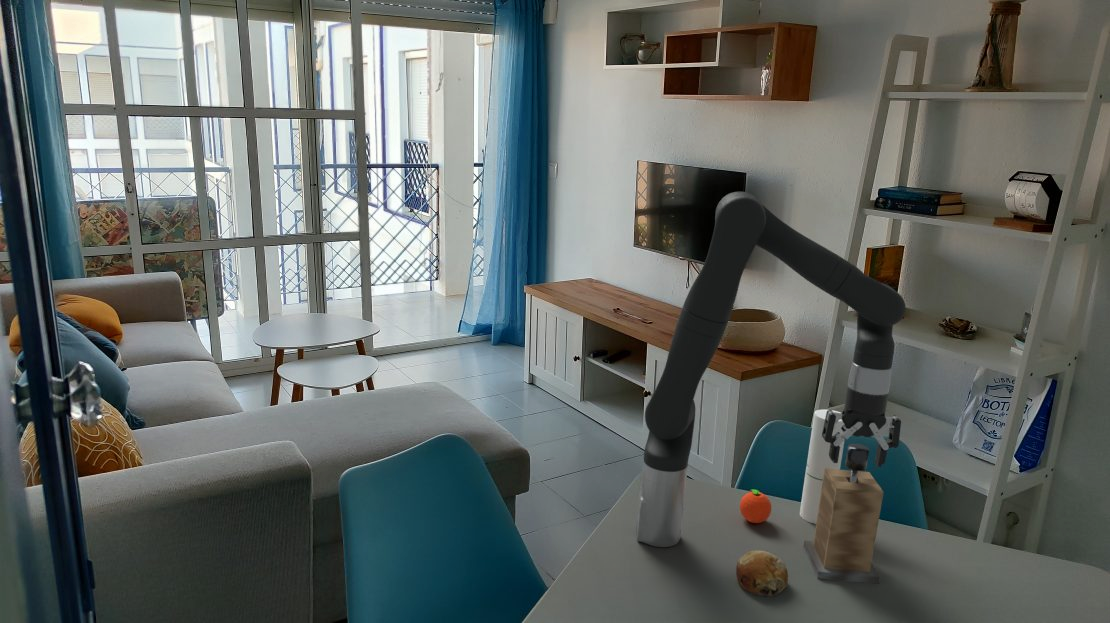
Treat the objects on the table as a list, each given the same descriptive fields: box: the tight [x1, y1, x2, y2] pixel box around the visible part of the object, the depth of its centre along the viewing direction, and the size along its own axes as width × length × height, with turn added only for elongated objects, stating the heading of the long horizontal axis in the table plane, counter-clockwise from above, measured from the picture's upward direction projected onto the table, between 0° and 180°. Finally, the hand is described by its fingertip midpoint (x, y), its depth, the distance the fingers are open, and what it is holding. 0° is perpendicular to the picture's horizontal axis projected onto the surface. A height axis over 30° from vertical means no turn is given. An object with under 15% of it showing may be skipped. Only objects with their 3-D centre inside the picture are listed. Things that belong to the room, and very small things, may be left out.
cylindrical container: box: [799, 409, 845, 525], centre depth 181 cm, size 7×7×25 cm
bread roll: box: [735, 550, 789, 597], centre depth 156 cm, size 10×10×8 cm
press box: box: [803, 469, 884, 584], centre depth 162 cm, size 12×12×19 cm
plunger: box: [844, 443, 870, 483], centre depth 161 cm, size 7×7×24 cm
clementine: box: [739, 489, 772, 524], centre depth 180 cm, size 8×7×7 cm
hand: (856, 463), depth 159 cm, fingers open, 8 cm apart
